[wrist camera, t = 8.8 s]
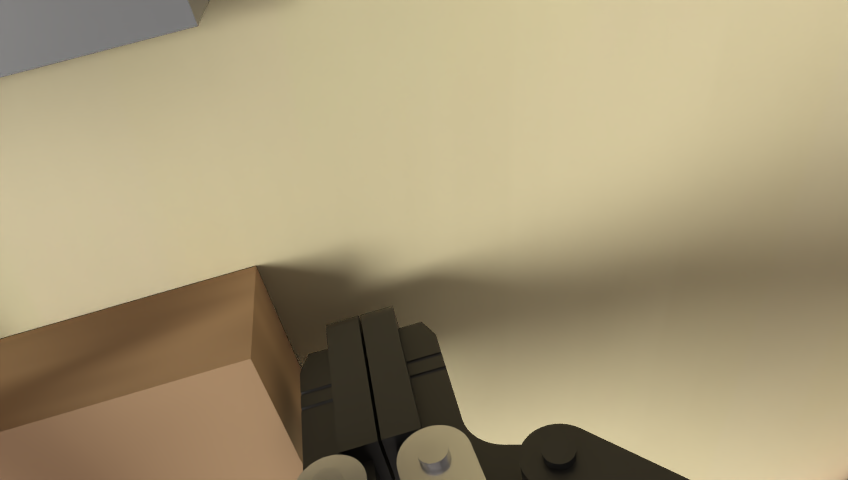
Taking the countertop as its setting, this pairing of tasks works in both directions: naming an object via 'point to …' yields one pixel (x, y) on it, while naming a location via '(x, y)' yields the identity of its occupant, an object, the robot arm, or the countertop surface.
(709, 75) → the countertop surface
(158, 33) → the bay
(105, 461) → the t block
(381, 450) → the robot arm
